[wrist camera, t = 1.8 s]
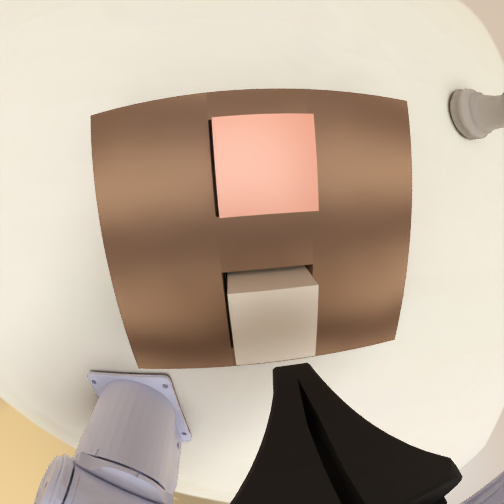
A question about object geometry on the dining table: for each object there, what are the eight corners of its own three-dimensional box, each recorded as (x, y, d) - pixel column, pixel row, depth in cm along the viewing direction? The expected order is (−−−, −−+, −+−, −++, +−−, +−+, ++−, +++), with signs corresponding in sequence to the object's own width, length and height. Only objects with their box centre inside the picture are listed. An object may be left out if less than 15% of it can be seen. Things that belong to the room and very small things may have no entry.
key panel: (377, 319, 20) (394, 339, 17) (148, 343, 19) (138, 368, 16) (382, 108, 16) (406, 100, 13) (111, 122, 15) (90, 115, 12)
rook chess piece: (443, 84, 15) (514, 69, 7) (475, 96, 15) (540, 89, 8) (450, 135, 16) (525, 135, 9) (480, 143, 17) (548, 147, 9)
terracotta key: (300, 201, 16) (318, 210, 12) (222, 207, 15) (219, 218, 12) (295, 125, 14) (313, 113, 11) (215, 128, 14) (211, 117, 11)
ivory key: (301, 324, 18) (315, 355, 15) (234, 331, 18) (236, 365, 14) (301, 261, 17) (318, 284, 13) (227, 268, 16) (227, 294, 13)
